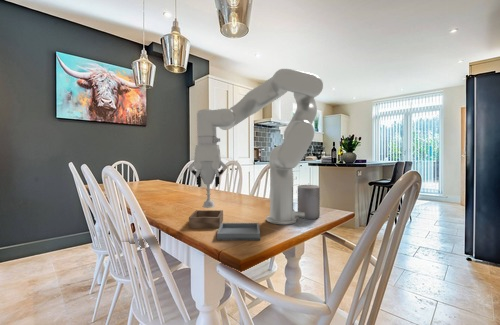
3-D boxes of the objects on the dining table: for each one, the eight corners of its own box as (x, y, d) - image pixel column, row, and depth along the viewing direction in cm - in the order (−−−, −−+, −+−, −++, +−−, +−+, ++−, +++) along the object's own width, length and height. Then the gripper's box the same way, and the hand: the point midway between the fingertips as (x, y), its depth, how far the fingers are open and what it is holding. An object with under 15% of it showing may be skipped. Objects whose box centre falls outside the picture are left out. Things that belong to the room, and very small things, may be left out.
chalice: (219, 204, 98) (218, 161, 97) (215, 208, 91) (214, 161, 91) (202, 204, 99) (201, 161, 98) (197, 208, 92) (195, 162, 91)
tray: (258, 228, 89) (258, 222, 89) (260, 240, 77) (260, 233, 77) (221, 228, 89) (221, 222, 89) (216, 240, 77) (216, 233, 77)
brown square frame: (223, 219, 101) (223, 210, 101) (219, 228, 89) (219, 217, 89) (195, 219, 101) (195, 210, 101) (188, 228, 89) (188, 217, 89)
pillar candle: (305, 212, 114) (305, 181, 113) (324, 216, 106) (324, 183, 106) (293, 216, 107) (292, 183, 107) (311, 220, 100) (311, 185, 99)
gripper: (229, 141, 98) (230, 184, 99) (187, 142, 98) (189, 185, 98) (228, 140, 90) (229, 187, 91) (182, 141, 90) (184, 188, 91)
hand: (208, 186), depth 95 cm, fingers closed on chalice, 6 cm apart
